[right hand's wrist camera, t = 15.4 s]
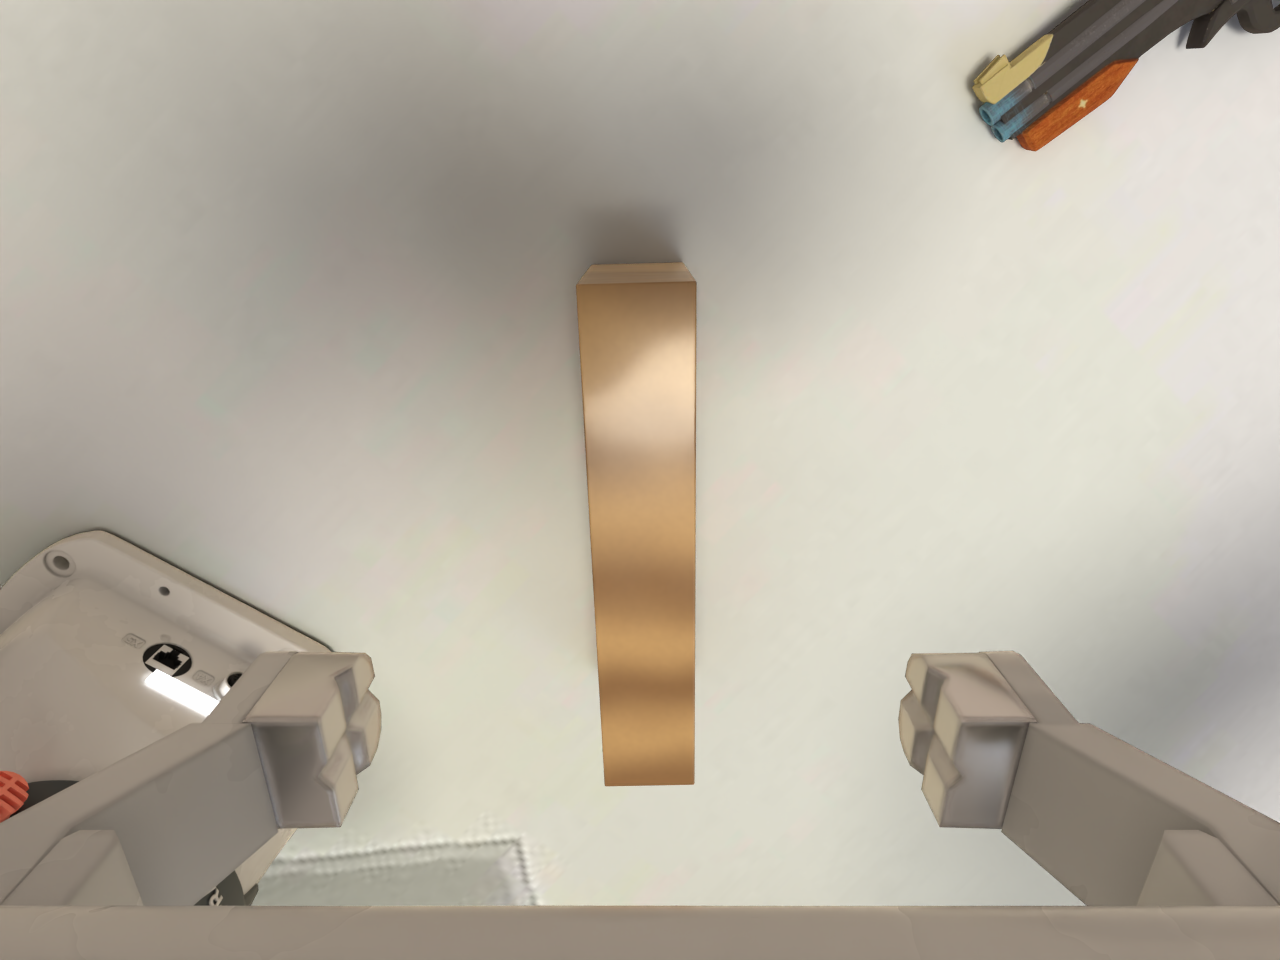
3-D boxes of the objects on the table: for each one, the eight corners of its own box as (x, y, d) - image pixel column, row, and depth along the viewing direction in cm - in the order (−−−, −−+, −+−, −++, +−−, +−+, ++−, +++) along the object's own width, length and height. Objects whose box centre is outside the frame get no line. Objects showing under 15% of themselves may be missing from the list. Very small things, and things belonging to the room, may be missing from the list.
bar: (590, 264, 34) (575, 284, 26) (683, 262, 34) (696, 281, 26) (611, 679, 43) (604, 786, 35) (684, 677, 43) (694, 785, 35)
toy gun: (1544, -59, 27) (1499, -344, 23) (1078, 268, 33) (980, 82, 29) (1470, -47, 30) (1419, -305, 26) (1048, 255, 35) (953, 82, 32)
